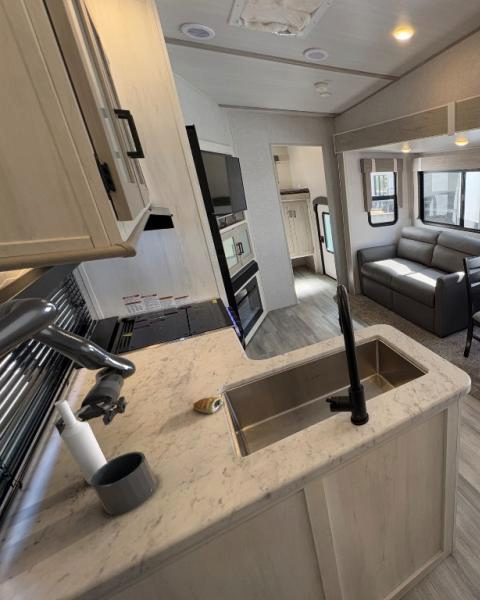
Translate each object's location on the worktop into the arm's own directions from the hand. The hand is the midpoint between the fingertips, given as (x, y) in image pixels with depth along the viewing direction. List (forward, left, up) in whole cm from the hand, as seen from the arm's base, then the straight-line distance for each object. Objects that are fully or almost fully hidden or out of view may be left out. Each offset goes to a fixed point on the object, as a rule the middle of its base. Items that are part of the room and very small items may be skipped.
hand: (85, 428), depth 83 cm
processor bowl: (+9, -16, -14) cm, 23 cm away
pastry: (+26, +12, -14) cm, 32 cm away
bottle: (0, -4, -14) cm, 14 cm away
